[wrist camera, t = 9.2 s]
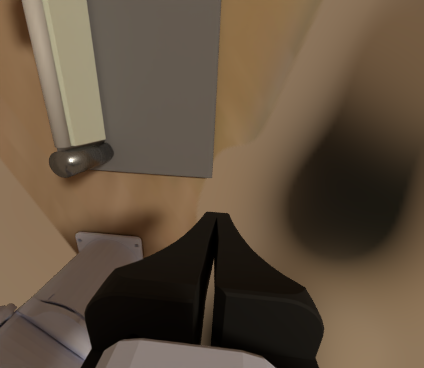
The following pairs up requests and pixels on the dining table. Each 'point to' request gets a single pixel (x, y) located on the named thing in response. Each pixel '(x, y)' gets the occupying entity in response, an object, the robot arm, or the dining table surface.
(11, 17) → the dining table surface
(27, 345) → the robot arm
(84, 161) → the gate post
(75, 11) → the bar
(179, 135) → the mat
